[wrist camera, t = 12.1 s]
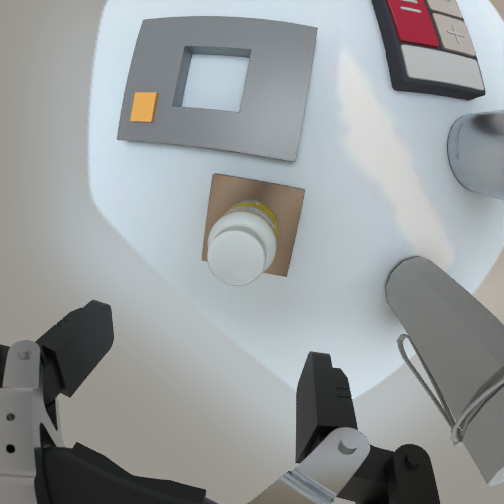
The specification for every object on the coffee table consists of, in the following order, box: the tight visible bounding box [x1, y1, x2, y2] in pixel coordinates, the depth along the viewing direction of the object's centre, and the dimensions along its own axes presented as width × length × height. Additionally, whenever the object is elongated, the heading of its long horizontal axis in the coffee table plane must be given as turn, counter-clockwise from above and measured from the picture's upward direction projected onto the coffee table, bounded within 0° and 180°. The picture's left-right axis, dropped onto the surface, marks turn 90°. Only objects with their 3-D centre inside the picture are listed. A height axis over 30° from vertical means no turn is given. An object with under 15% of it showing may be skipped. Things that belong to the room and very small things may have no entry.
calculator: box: [371, 0, 485, 100], centre depth 20 cm, size 11×4×15 cm
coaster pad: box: [202, 174, 305, 277], centre depth 29 cm, size 9×9×1 cm
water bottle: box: [386, 257, 504, 487], centre depth 19 cm, size 9×8×25 cm
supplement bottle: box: [207, 200, 278, 286], centre depth 24 cm, size 5×5×10 cm
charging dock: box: [117, 16, 318, 162], centre depth 24 cm, size 18×14×3 cm
